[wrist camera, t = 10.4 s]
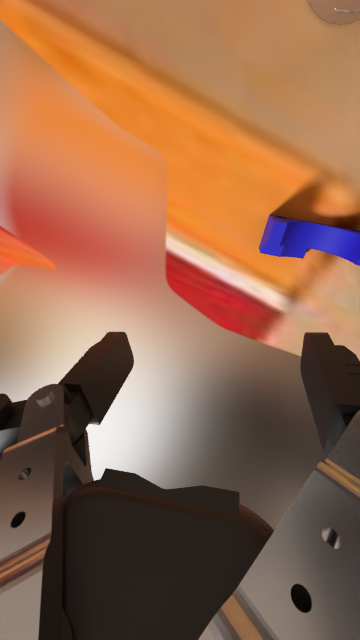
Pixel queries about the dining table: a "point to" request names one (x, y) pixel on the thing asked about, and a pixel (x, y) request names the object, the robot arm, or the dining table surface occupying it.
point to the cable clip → (308, 239)
